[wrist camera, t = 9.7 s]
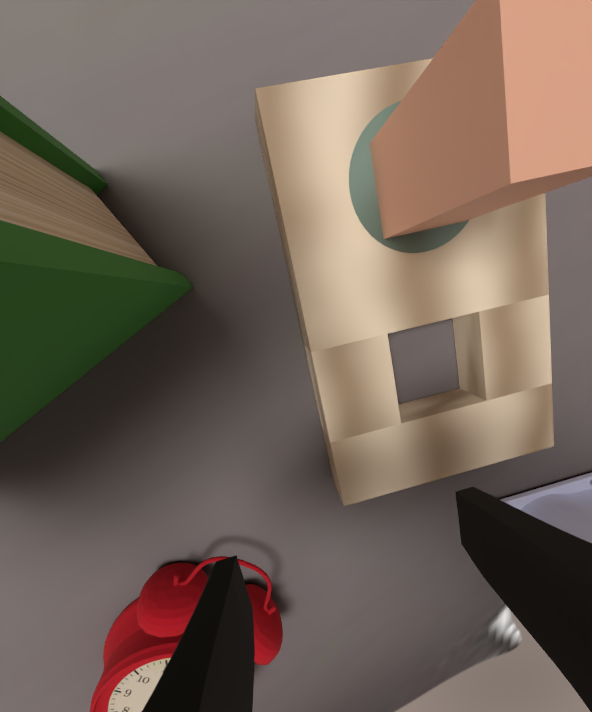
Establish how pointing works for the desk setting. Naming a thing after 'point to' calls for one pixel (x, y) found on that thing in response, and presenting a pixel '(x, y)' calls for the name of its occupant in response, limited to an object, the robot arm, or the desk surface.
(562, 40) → the peg
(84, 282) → the hardback book
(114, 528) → the desk surface
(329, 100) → the pocket board
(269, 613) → the alarm clock
